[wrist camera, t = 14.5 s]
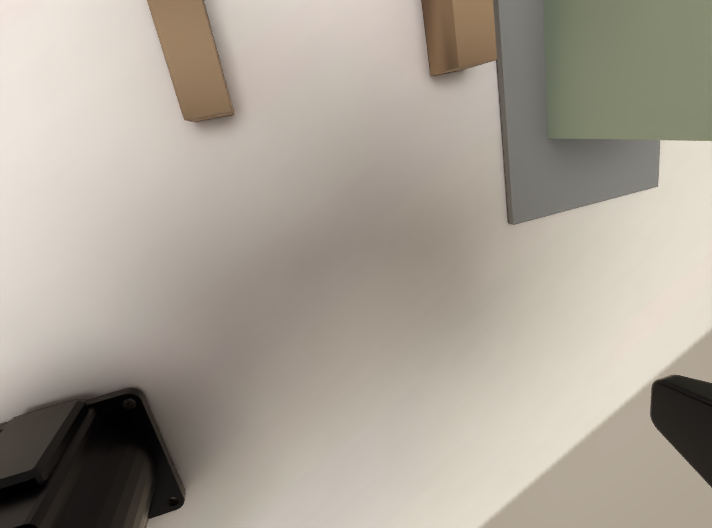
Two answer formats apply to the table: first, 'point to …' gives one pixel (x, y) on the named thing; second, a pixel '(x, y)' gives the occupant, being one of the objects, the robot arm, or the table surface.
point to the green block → (629, 69)
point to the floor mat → (530, 132)
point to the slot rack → (205, 75)
